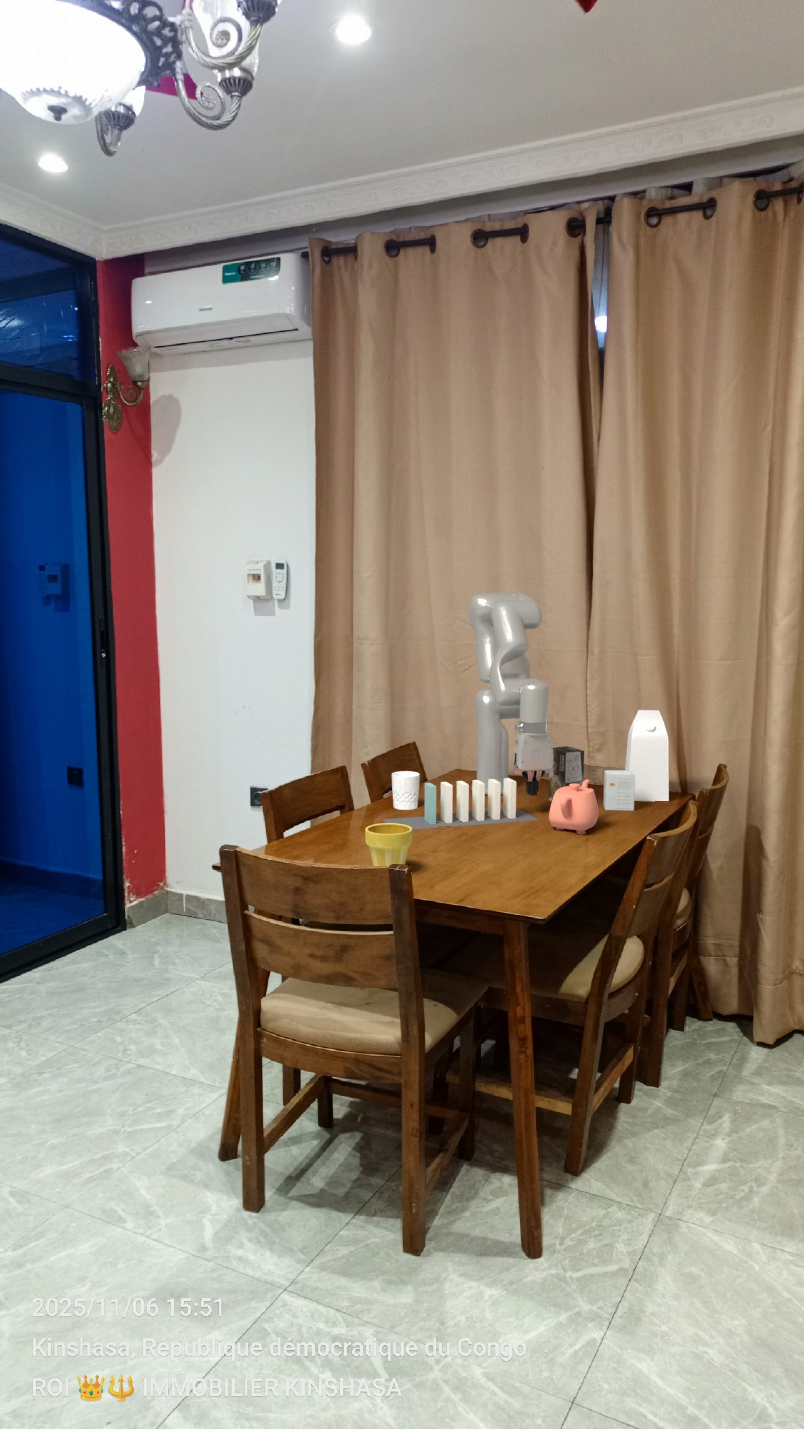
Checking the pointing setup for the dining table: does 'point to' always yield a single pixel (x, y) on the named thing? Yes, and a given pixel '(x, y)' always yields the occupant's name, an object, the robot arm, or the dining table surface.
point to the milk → (649, 756)
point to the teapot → (574, 808)
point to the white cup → (405, 789)
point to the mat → (422, 824)
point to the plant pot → (388, 843)
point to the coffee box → (566, 768)
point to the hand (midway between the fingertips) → (532, 794)
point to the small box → (619, 790)
